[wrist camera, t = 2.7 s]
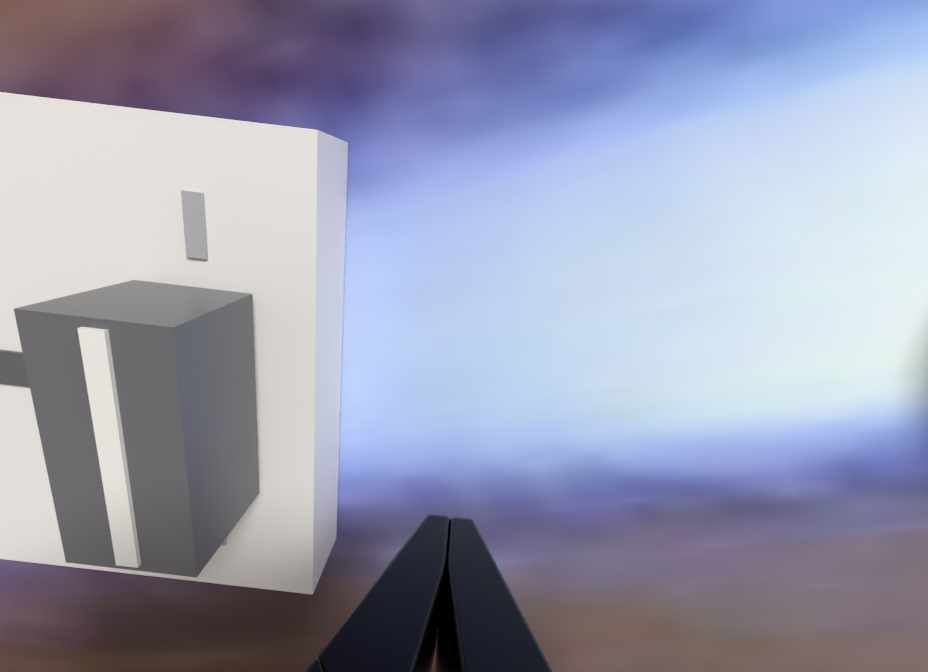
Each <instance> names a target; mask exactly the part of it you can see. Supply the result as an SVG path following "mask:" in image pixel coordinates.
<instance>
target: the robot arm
mask: <svg viewBox="0 0 928 672" xmlns="http://www.w3.org/2000/svg"><path fill="white" fill-rule="evenodd" d="M437 631H438V633H437ZM436 639H437V646H436ZM435 647H436V672H552V670H551V668H550V666H549V664H548V662H547V660H546V659H545V657H544V655H543V653H542V651H541V649H540V647H539V645H538V643H537V641H536V639H535V638H534V636H533V634H532V632H531V630H530V628H529V626H528V624H527V622H526V620H525V618H524V616H523V615H522V613H521V611H520V609H519V607H518V605H517V603H516V601H515V599H514V597H513V595H512V594H511V592H510V590H509V588H508V586H507V584H506V582H505V580H504V578H503V576H502V574H501V572H500V571H499V569H498V567H497V565H496V563H495V561H494V559H493V557H492V555H491V553H490V551H489V549H488V548H487V546H486V544H485V542H484V540H483V538H482V536H481V534H480V532H479V530H478V528H477V527H476V525H475V523H474V521H473V520H472V519H471V518H464V517H456V516H453V517H452V518H451V519H450V518H449V517H448V516H447V515H439V514H428V515H427V516H426V517H425V519H424V520H423V521H422V522H421V524H420V525H419V526H418V527H417V529H416V530H415V531H414V533H413V534H412V535H411V536H410V538H409V539H408V540H407V542H406V543H405V544H404V545H403V547H402V548H401V549H400V551H399V552H398V553H397V554H396V556H395V557H394V558H393V559H392V561H391V562H390V563H389V565H388V566H387V567H386V568H385V570H384V571H383V572H382V574H381V575H380V576H379V577H378V579H377V580H376V581H375V582H374V584H373V585H372V586H371V588H370V589H369V590H368V591H367V593H366V594H365V595H364V597H363V598H362V599H361V600H360V602H359V603H358V604H357V606H356V607H355V608H354V609H353V611H352V612H351V613H350V614H349V616H348V617H347V618H346V620H345V621H344V622H343V623H342V625H341V626H340V627H339V629H338V630H337V631H336V632H335V634H334V635H333V636H332V637H331V639H330V640H329V641H328V643H327V644H326V645H325V646H324V648H323V649H322V650H321V652H320V653H319V655H318V658H315V659H314V660H313V661H312V663H311V664H310V665H309V667H308V668H307V669H306V670H305V672H431V669H432V664H433V659H434V653H435Z"/></svg>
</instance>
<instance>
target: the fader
mask: <svg viewBox="0 0 928 672" xmlns="http://www.w3.org/2000/svg"><path fill="white" fill-rule="evenodd" d="M14 313H15V318H16V323H17V328H18V332H19V337H20V342H21V347H22V352H23V357H24V362H25V366H26V371H27V376H28V381H29V386H30V391H31V395H32V400H33V405H34V410H35V415H36V420H37V425H38V429H39V434H40V439H41V444H42V449H43V454H44V459H45V463H46V468H47V473H48V478H49V483H50V488H51V492H52V497H53V502H54V507H55V512H56V517H57V522H58V526H59V531H60V536H61V541H62V546H63V551H64V555H65V560H66V563H75V564H84V565H92V566H101V567H110V568H119V569H127V570H136V571H145V572H153V573H162V574H171V575H179V576H188V577H198V575H199V574H200V573H201V571H202V570H203V568H204V567H205V566H206V564H207V563H208V562H209V560H210V559H211V558H212V556H213V555H214V554H215V552H216V551H217V550H218V548H219V547H220V546H221V544H222V543H223V541H224V540H225V539H226V537H227V536H228V535H229V533H230V532H231V531H232V529H233V528H234V527H235V525H236V524H237V523H238V521H239V520H240V519H241V517H242V516H243V515H244V513H245V512H246V510H247V509H248V508H249V506H250V505H251V504H252V502H253V501H254V500H255V498H256V497H257V496H258V494H259V467H258V438H257V410H256V381H255V352H254V324H253V295H252V294H250V293H241V292H233V291H224V290H216V289H207V288H199V287H190V286H182V285H173V284H165V283H156V282H148V281H139V280H131V281H127V282H123V283H119V284H115V285H110V286H106V287H102V288H98V289H94V290H90V291H85V292H81V293H77V294H73V295H69V296H64V297H60V298H56V299H52V300H48V301H43V302H39V303H35V304H31V305H27V306H23V307H18V308H14Z"/></svg>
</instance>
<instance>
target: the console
mask: <svg viewBox="0 0 928 672" xmlns="http://www.w3.org/2000/svg"><path fill="white" fill-rule="evenodd" d="M347 164H348V143H347V142H345V141H343V140H340V139H338V138H336V137H333V136H331V135H328V134H326V133H324V132H321V131H319V130H314V129H306V128H297V127H289V126H280V125H272V124H263V123H255V122H247V121H238V120H230V119H221V118H213V117H205V116H196V115H188V114H179V113H171V112H163V111H154V110H146V109H137V108H129V107H120V106H112V105H104V104H95V103H87V102H78V101H70V100H62V99H53V98H45V97H36V96H28V95H20V94H11V93H3V92H0V559H7V560H15V561H24V562H33V563H42V564H50V565H59V566H68V567H76V568H85V569H94V570H103V571H111V572H120V573H129V574H137V575H146V576H155V577H164V578H172V579H181V580H190V581H198V582H207V583H216V584H225V585H233V586H242V587H251V588H259V589H268V590H277V591H285V592H294V593H303V594H312V595H313V593H314V591H315V588H316V586H317V583H318V581H319V579H320V576H321V574H322V571H323V569H324V567H325V564H326V562H327V559H328V557H329V555H330V552H331V550H332V548H333V545H334V543H335V540H336V535H337V501H338V467H339V434H340V400H341V366H342V333H343V299H344V265H345V232H346V198H347ZM131 280H139V281H148V282H156V283H165V284H173V285H182V286H190V287H199V288H207V289H216V290H224V291H233V292H241V293H250V294H252V295H253V324H254V352H255V381H256V410H257V438H258V467H259V494H258V496H257V497H256V498H255V500H254V501H253V502H252V504H251V505H250V506H249V508H248V509H247V510H246V512H245V513H244V515H243V516H242V517H241V519H240V520H239V521H238V523H237V524H236V525H235V527H234V528H233V529H232V531H231V532H230V533H229V535H228V536H227V537H226V539H225V540H224V541H223V543H222V544H221V546H220V547H219V548H218V550H217V551H216V552H215V554H214V555H213V556H212V558H211V559H210V560H209V562H208V563H207V564H206V566H205V567H204V568H203V570H202V571H201V573H200V574H199V575H198V577H188V576H179V575H171V574H162V573H153V572H145V571H136V570H127V569H119V568H110V567H101V566H92V565H84V564H75V563H66V560H65V555H64V551H63V546H62V541H61V536H60V531H59V526H58V522H57V517H56V512H55V507H54V502H53V497H52V492H51V488H50V483H49V478H48V473H47V468H46V463H45V459H44V454H43V449H42V444H41V439H40V434H39V429H38V425H37V420H36V415H35V410H34V405H33V400H32V395H31V391H30V386H29V381H28V376H27V371H26V366H25V362H24V357H23V352H22V347H21V342H20V337H19V332H18V328H17V323H16V318H15V313H14V308H18V307H23V306H27V305H31V304H35V303H39V302H43V301H48V300H52V299H56V298H60V297H64V296H69V295H73V294H77V293H81V292H85V291H90V290H94V289H98V288H102V287H106V286H110V285H115V284H119V283H123V282H127V281H131Z"/></svg>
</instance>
